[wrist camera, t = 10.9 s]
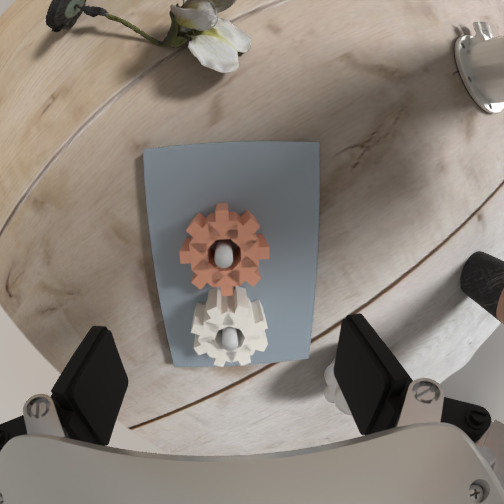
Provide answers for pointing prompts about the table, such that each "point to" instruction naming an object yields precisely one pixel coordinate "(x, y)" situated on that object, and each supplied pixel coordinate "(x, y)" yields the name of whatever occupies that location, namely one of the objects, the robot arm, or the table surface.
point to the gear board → (271, 226)
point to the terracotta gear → (243, 257)
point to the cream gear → (234, 315)
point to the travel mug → (485, 283)
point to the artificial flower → (175, 29)
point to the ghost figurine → (334, 390)
